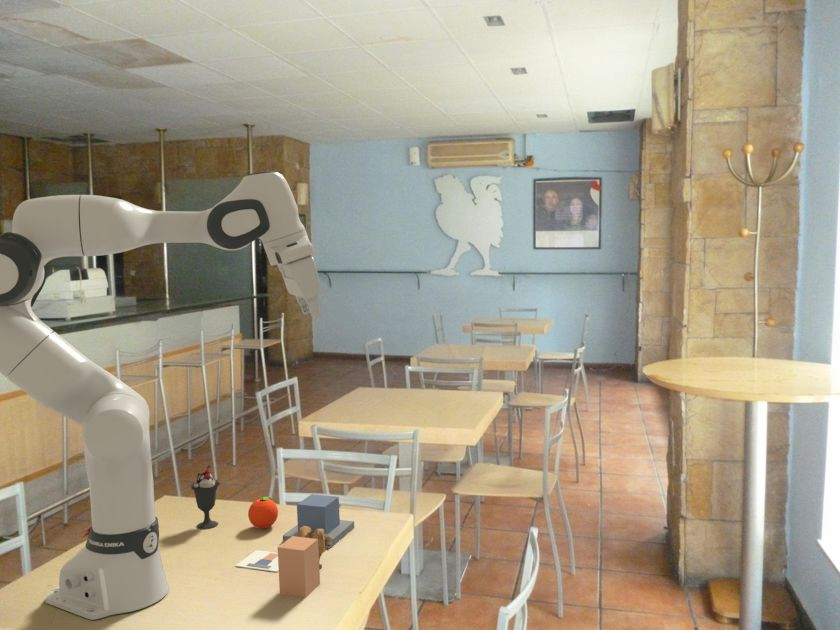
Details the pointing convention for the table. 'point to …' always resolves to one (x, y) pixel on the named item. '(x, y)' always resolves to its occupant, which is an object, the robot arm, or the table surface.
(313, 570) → the terracotta brick
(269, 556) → the page
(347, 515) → the table surface
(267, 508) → the clementine
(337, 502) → the tower base
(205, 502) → the sundae
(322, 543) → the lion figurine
